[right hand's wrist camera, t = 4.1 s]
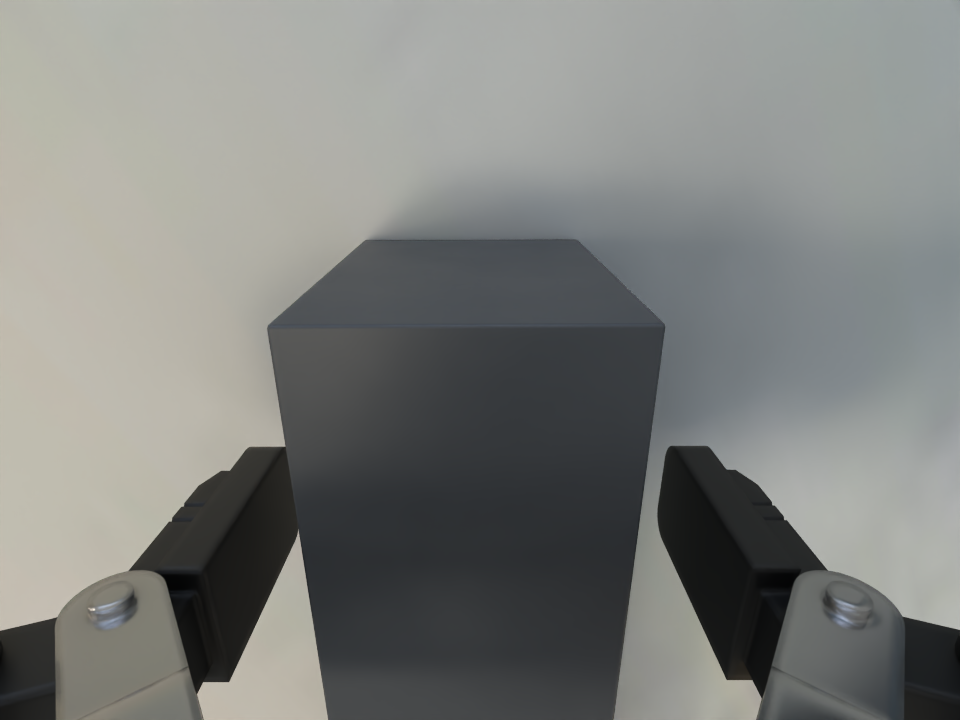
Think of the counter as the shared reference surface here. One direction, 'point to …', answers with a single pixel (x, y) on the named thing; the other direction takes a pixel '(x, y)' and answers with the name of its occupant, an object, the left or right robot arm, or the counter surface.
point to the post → (468, 475)
